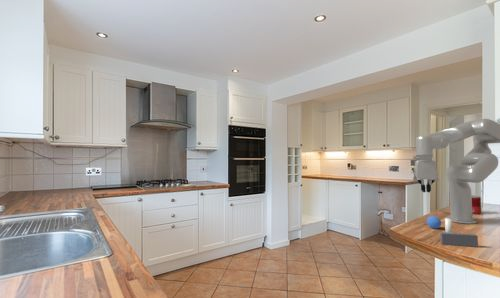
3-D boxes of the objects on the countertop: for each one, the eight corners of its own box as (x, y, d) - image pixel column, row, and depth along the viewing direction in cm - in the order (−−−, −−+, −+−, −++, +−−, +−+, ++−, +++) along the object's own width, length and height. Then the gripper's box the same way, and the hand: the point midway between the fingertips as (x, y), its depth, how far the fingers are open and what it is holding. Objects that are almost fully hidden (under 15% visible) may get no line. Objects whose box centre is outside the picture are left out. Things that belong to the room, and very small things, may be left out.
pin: (447, 237, 114) (446, 217, 114) (453, 238, 112) (452, 218, 112) (444, 238, 112) (443, 218, 113) (451, 239, 110) (450, 219, 111)
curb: (440, 242, 106) (439, 232, 106) (475, 245, 102) (474, 234, 103) (442, 244, 104) (441, 233, 104) (478, 247, 101) (477, 235, 101)
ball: (430, 226, 132) (429, 214, 132) (443, 228, 127) (443, 216, 127) (424, 227, 129) (424, 216, 129) (438, 230, 124) (437, 218, 124)
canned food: (484, 214, 156) (483, 196, 156) (469, 214, 158) (468, 196, 158) (476, 212, 163) (475, 195, 164) (461, 211, 165) (461, 194, 165)
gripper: (410, 158, 137) (411, 192, 137) (444, 158, 133) (446, 193, 132) (406, 158, 145) (407, 190, 144) (438, 158, 140) (440, 191, 139)
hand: (426, 191), depth 138 cm, fingers closed
